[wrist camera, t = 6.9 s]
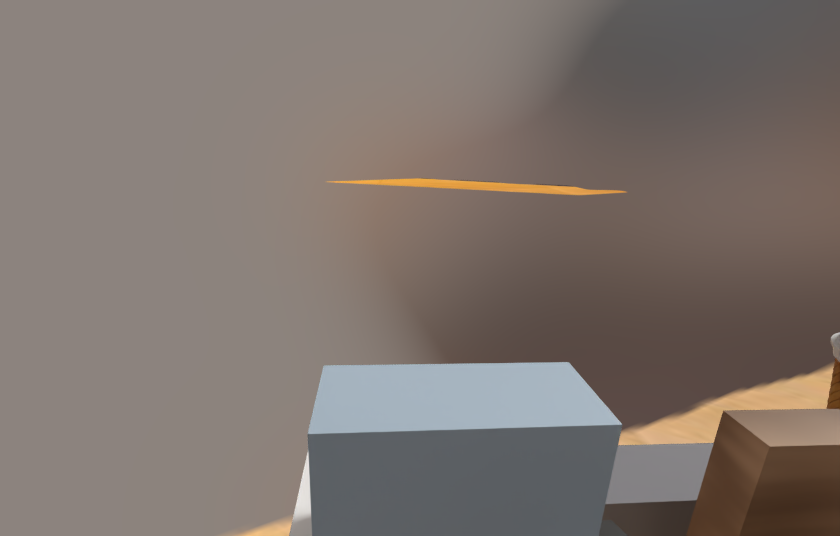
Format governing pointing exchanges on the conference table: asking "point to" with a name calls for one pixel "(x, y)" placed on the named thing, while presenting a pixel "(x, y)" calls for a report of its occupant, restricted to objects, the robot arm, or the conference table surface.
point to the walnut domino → (772, 475)
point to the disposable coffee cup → (835, 375)
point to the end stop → (656, 487)
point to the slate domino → (459, 451)
